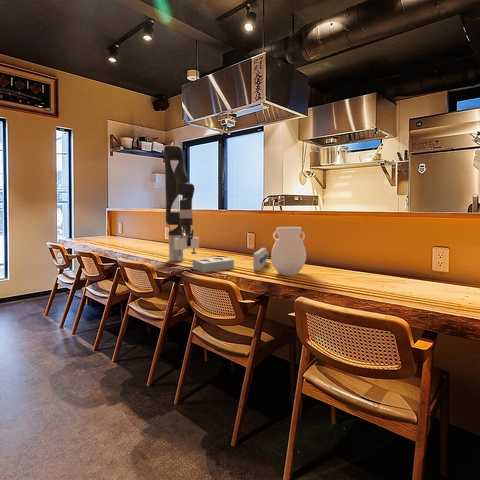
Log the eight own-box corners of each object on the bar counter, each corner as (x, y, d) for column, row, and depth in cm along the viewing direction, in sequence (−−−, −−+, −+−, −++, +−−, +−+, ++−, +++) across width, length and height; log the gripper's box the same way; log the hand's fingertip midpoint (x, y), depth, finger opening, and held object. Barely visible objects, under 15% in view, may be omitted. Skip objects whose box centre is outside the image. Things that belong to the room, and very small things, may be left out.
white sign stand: (174, 255, 204) (174, 238, 203) (195, 252, 212) (195, 236, 211) (178, 256, 200) (177, 239, 199) (199, 253, 208) (199, 237, 206)
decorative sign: (259, 271, 192) (259, 253, 191) (253, 271, 193) (253, 253, 192) (269, 261, 223) (269, 246, 222) (264, 261, 224) (264, 246, 223)
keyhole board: (192, 268, 203) (192, 260, 202) (221, 264, 214) (221, 256, 213) (203, 272, 191) (203, 263, 191) (233, 268, 202) (233, 259, 202)
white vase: (308, 271, 191) (308, 226, 188) (303, 278, 173) (303, 228, 171) (275, 269, 197) (275, 225, 194) (267, 276, 180) (267, 228, 177)
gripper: (175, 216, 207) (176, 244, 209) (185, 218, 195) (186, 247, 197) (186, 216, 211) (187, 243, 213) (197, 217, 199) (198, 246, 201)
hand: (186, 245), depth 205 cm, fingers closed on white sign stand, 5 cm apart
